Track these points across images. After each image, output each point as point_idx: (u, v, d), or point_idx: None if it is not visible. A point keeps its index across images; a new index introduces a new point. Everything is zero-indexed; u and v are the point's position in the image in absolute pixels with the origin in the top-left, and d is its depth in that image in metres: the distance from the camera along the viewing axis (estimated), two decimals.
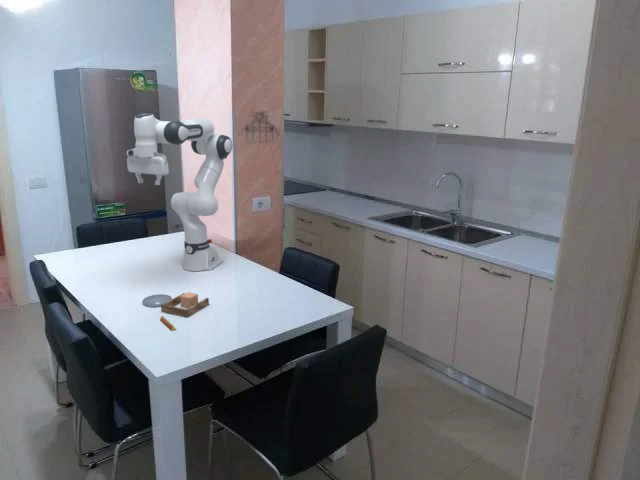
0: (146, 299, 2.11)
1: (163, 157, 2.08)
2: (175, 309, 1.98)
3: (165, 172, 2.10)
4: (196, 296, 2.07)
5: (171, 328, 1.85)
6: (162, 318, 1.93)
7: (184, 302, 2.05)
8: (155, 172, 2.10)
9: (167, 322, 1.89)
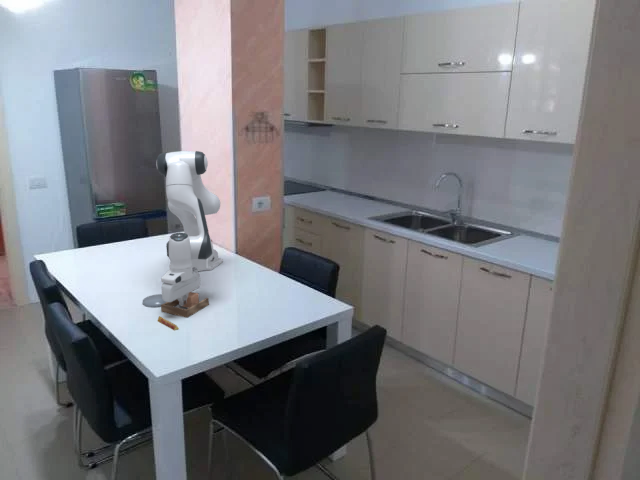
0: (146, 299, 2.11)
1: (196, 270, 2.08)
2: (175, 309, 1.98)
3: None
4: (197, 295, 2.07)
5: (174, 327, 1.86)
6: (160, 319, 1.92)
7: None
8: (194, 288, 2.06)
9: (167, 322, 1.89)
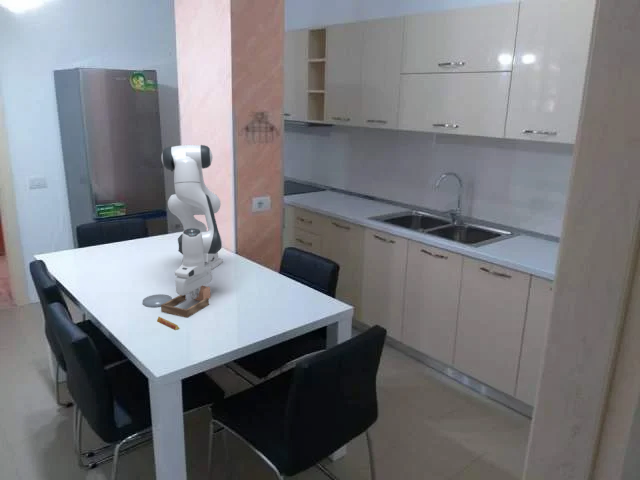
0: (146, 299, 2.11)
1: (208, 265, 2.16)
2: (175, 309, 1.98)
3: None
4: (208, 289, 2.15)
5: (174, 327, 1.86)
6: (160, 319, 1.92)
7: None
8: (206, 281, 2.14)
9: (167, 322, 1.89)
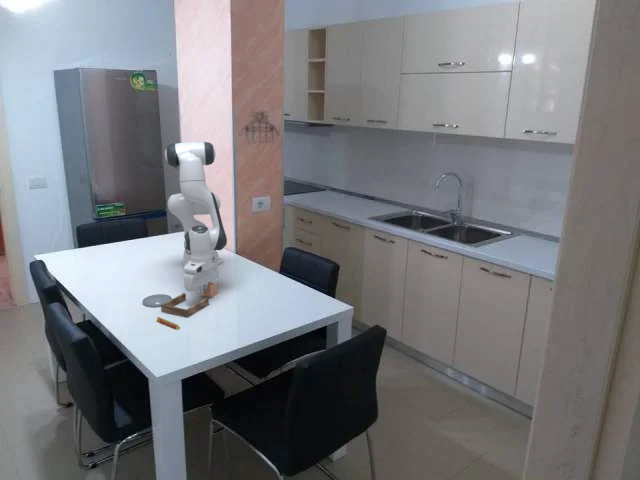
0: (146, 299, 2.11)
1: (215, 261, 2.20)
2: (175, 309, 1.98)
3: None
4: (215, 285, 2.19)
5: (175, 327, 1.86)
6: (159, 319, 1.92)
7: None
8: (213, 278, 2.18)
9: (168, 322, 1.89)
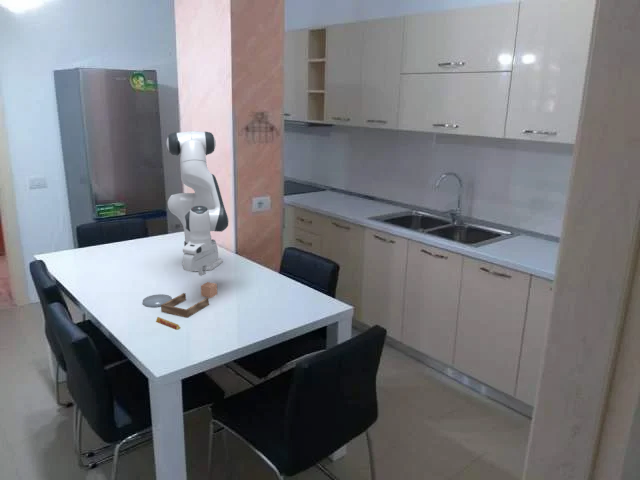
0: (146, 299, 2.11)
1: (214, 242, 2.18)
2: (175, 309, 1.98)
3: None
4: (215, 286, 2.19)
5: (175, 327, 1.86)
6: (159, 319, 1.92)
7: (204, 291, 2.17)
8: (213, 259, 2.16)
9: (168, 322, 1.89)
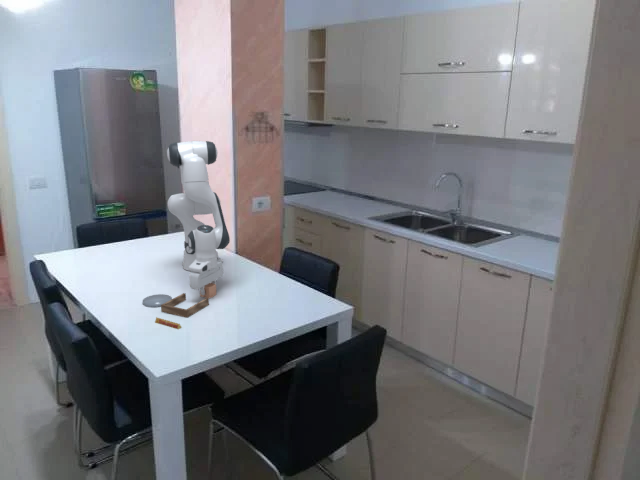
0: (146, 299, 2.11)
1: (219, 260, 2.23)
2: (175, 309, 1.98)
3: None
4: (214, 286, 2.18)
5: (176, 326, 1.87)
6: (158, 319, 1.91)
7: None
8: (218, 276, 2.21)
9: (168, 322, 1.89)
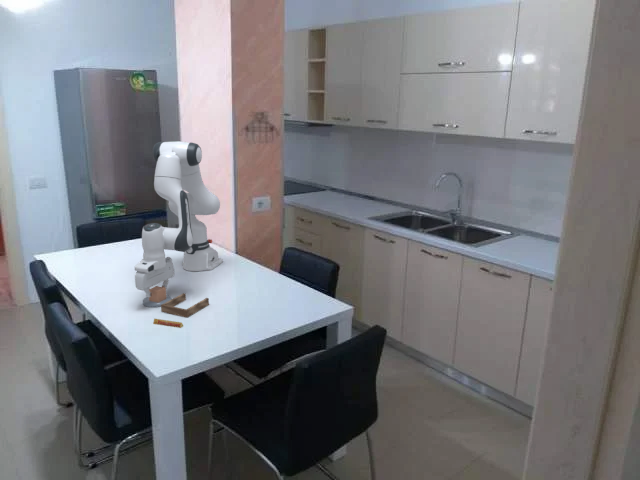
0: (146, 299, 2.11)
1: (170, 260, 2.15)
2: (175, 309, 1.98)
3: None
4: (164, 290, 2.10)
5: (179, 325, 1.88)
6: (157, 320, 1.90)
7: (152, 295, 2.08)
8: (168, 277, 2.13)
9: (168, 322, 1.89)
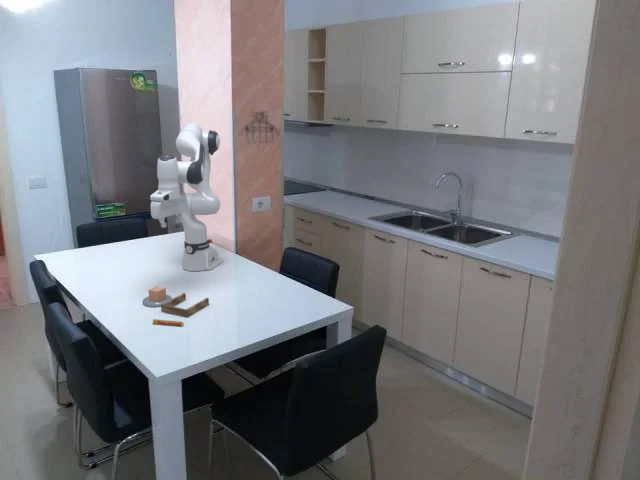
0: (146, 299, 2.11)
1: (184, 194, 2.19)
2: (175, 309, 1.98)
3: None
4: (164, 290, 2.10)
5: (180, 324, 1.88)
6: (156, 321, 1.90)
7: (152, 295, 2.08)
8: (182, 210, 2.17)
9: (168, 322, 1.89)
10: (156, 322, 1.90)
